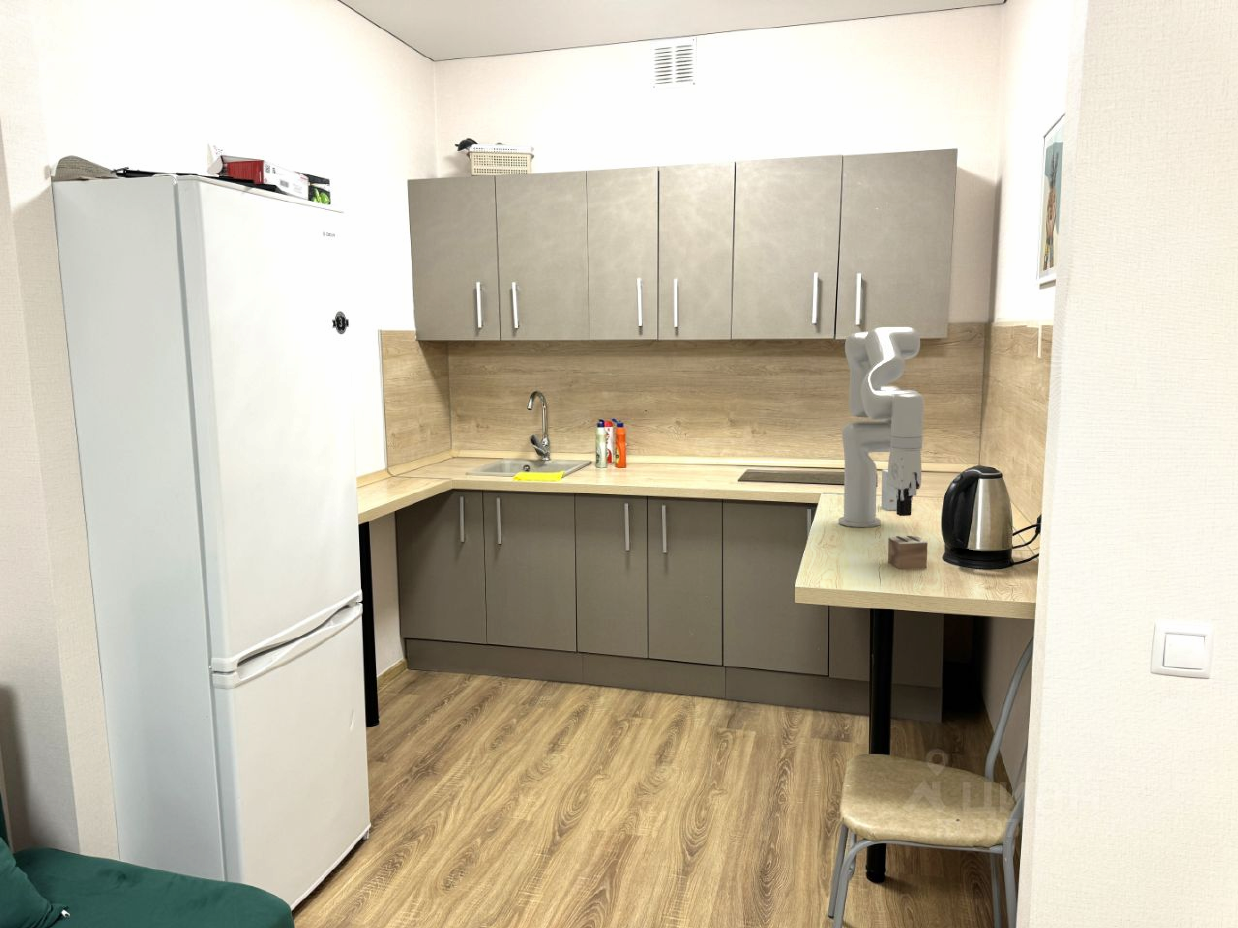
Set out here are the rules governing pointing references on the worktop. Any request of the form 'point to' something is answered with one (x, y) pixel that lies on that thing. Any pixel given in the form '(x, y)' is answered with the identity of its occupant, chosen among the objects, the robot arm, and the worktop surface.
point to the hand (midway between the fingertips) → (903, 515)
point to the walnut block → (907, 552)
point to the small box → (888, 493)
